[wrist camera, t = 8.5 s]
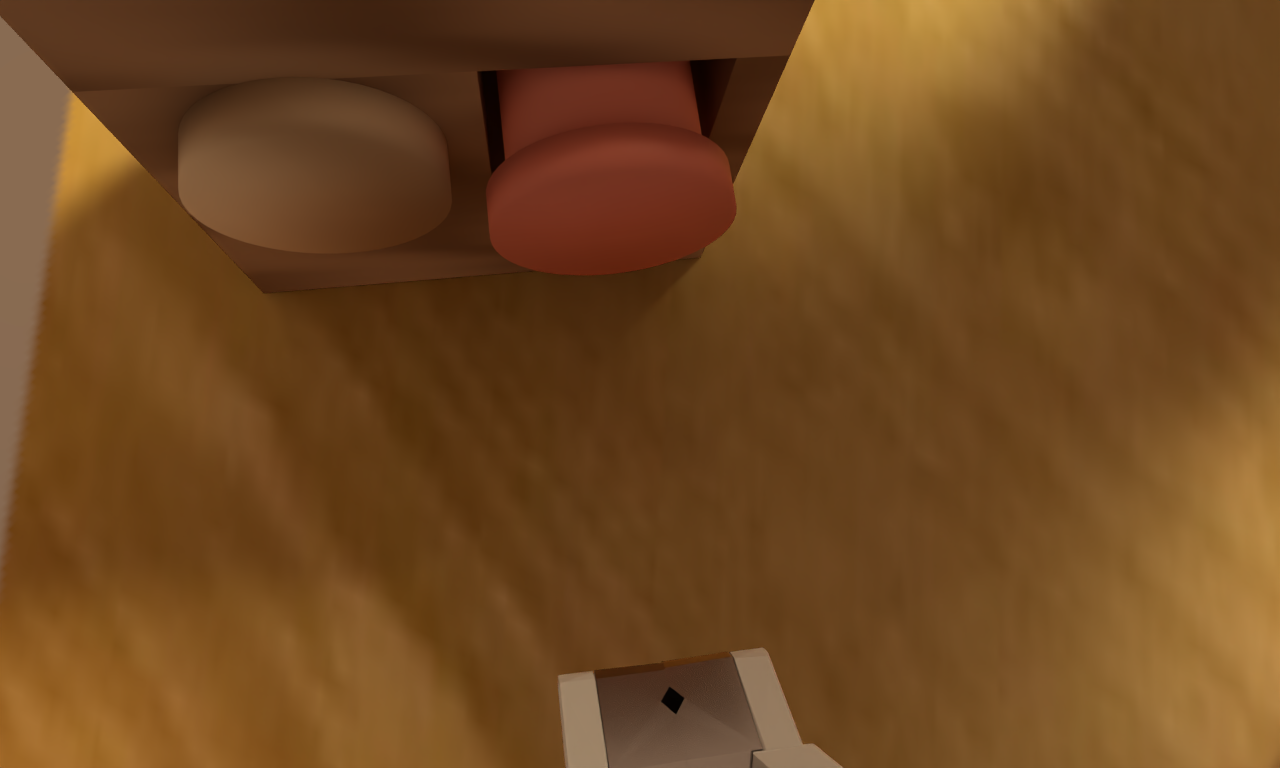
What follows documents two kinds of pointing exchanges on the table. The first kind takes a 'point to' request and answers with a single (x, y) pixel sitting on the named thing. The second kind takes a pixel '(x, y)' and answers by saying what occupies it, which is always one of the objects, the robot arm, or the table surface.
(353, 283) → the socket block
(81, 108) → the table surface
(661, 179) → the red plug
